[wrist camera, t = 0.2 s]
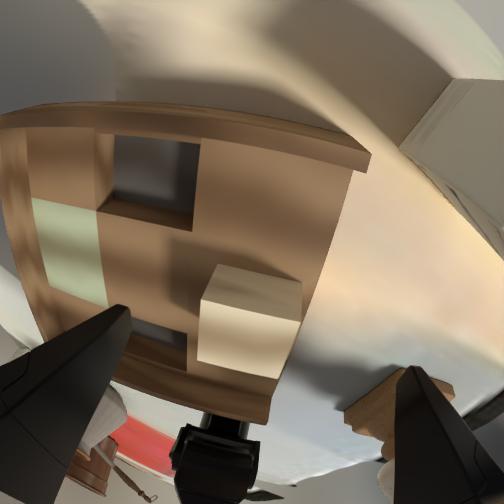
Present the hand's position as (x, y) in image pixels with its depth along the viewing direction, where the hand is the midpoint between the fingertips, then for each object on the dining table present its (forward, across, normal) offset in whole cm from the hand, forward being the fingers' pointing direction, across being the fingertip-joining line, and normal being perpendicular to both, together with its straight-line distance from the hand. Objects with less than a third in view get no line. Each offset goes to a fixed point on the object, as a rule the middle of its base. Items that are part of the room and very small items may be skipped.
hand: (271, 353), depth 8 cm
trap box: (+14, +10, +8) cm, 19 cm away
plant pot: (+15, +32, +69) cm, 77 cm away
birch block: (+11, +1, +8) cm, 14 cm away
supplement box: (+14, -11, -7) cm, 19 cm away
